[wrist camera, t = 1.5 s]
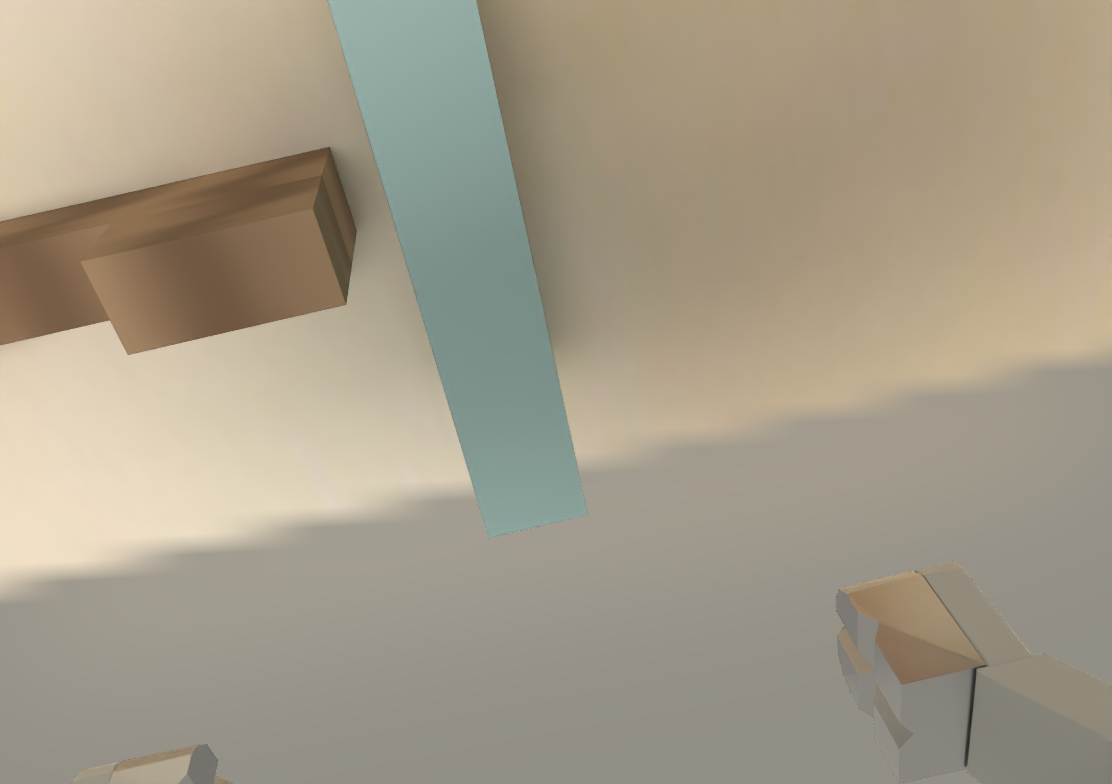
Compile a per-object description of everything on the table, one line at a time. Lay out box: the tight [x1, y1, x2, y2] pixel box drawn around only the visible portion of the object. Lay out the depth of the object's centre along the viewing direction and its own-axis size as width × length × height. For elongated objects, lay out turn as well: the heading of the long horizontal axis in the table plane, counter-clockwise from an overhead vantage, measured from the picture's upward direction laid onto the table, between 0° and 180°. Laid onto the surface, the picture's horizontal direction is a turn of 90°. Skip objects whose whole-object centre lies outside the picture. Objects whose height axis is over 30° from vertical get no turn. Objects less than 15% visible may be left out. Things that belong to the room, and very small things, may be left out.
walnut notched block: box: [0, 148, 356, 355], centre depth 28 cm, size 18×3×6 cm, turn 101°
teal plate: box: [328, 0, 588, 538], centre depth 27 cm, size 3×16×10 cm, turn 11°
